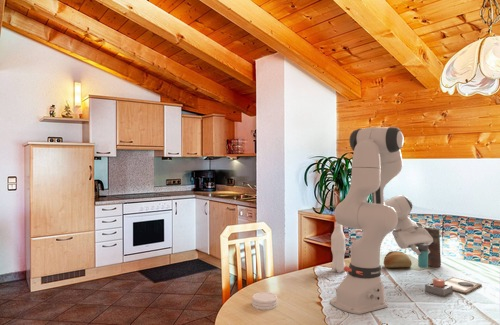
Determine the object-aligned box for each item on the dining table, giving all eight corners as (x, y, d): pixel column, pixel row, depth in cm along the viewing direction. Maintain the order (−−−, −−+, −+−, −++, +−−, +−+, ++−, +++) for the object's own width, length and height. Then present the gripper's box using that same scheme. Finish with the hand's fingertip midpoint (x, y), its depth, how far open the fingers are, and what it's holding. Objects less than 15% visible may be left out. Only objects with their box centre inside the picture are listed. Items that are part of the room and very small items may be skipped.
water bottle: (344, 269, 178) (344, 220, 178) (347, 273, 171) (346, 223, 171) (330, 269, 179) (329, 220, 179) (332, 273, 172) (331, 223, 172)
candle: (421, 263, 186) (421, 226, 186) (432, 262, 188) (432, 225, 188) (433, 268, 179) (432, 229, 179) (444, 266, 181) (443, 228, 181)
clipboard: (465, 294, 143) (465, 292, 143) (436, 286, 153) (436, 284, 153) (481, 285, 153) (481, 283, 153) (452, 278, 162) (452, 276, 162)
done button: (441, 290, 143) (441, 282, 143) (430, 287, 146) (430, 280, 146) (446, 287, 146) (446, 280, 146) (435, 284, 149) (435, 277, 149)
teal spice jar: (425, 268, 155) (425, 246, 155) (416, 266, 158) (416, 244, 158) (430, 266, 157) (430, 244, 157) (420, 264, 161) (420, 243, 161)
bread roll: (379, 265, 185) (378, 250, 185) (404, 263, 187) (404, 248, 187) (389, 271, 175) (389, 255, 175) (415, 269, 178) (415, 253, 178)
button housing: (443, 297, 141) (443, 289, 141) (425, 291, 147) (425, 284, 147) (452, 292, 145) (452, 285, 145) (434, 287, 151) (433, 280, 151)
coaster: (262, 298, 142) (262, 289, 142) (282, 304, 136) (282, 295, 136) (246, 306, 135) (246, 297, 135) (267, 313, 128) (267, 303, 128)
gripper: (394, 226, 160) (412, 252, 151) (424, 223, 169) (443, 247, 160) (386, 234, 164) (404, 260, 155) (416, 231, 173) (434, 255, 164)
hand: (424, 253), depth 157 cm, fingers closed on teal spice jar, 4 cm apart
